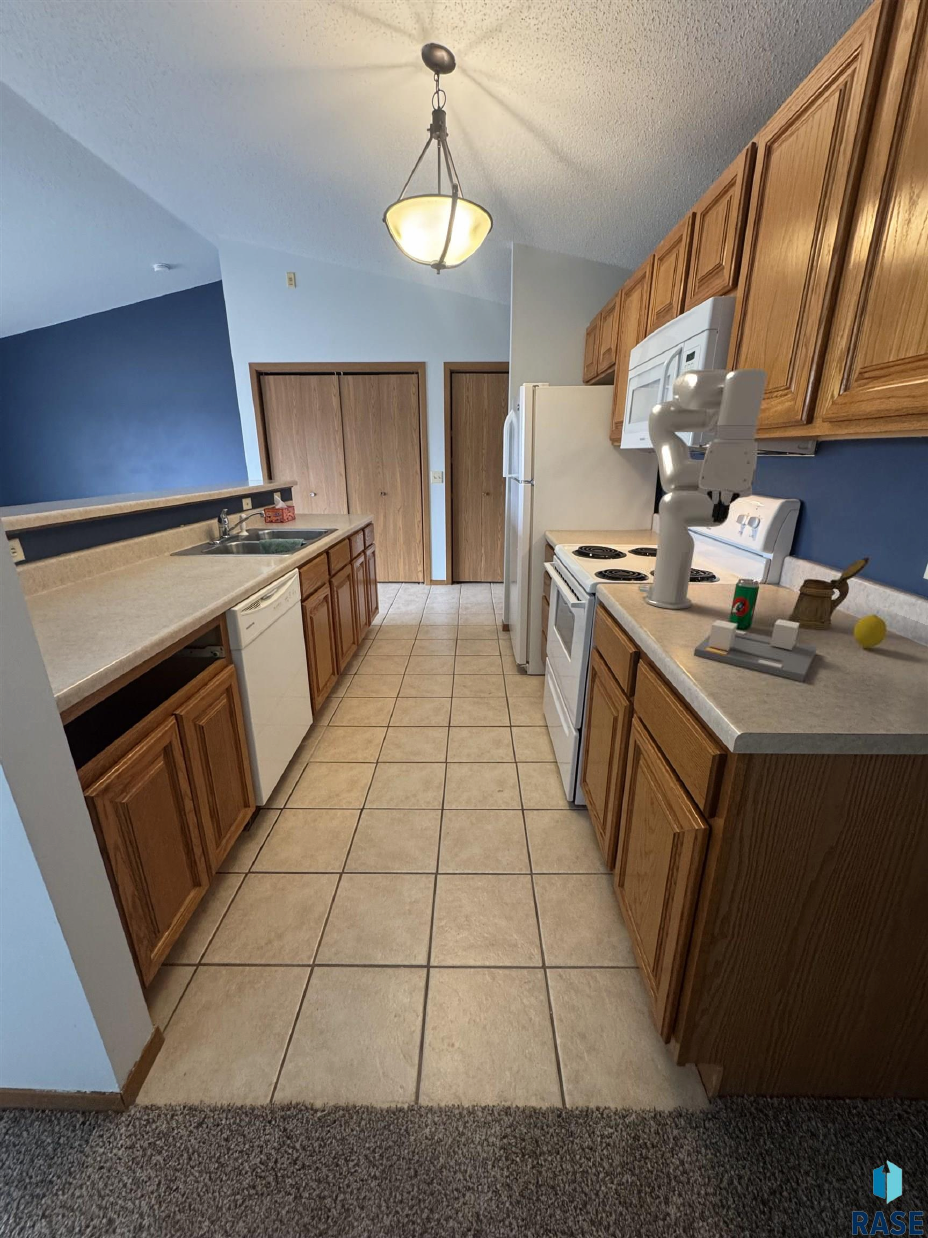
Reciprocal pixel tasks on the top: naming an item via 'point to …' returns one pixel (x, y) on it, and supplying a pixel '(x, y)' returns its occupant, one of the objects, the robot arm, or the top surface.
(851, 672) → the top surface
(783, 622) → the back slider
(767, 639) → the switch panel
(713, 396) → the robot arm
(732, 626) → the front slider
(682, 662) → the top surface
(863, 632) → the lemon
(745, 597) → the soda can
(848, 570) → the wooden mug
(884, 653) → the top surface
